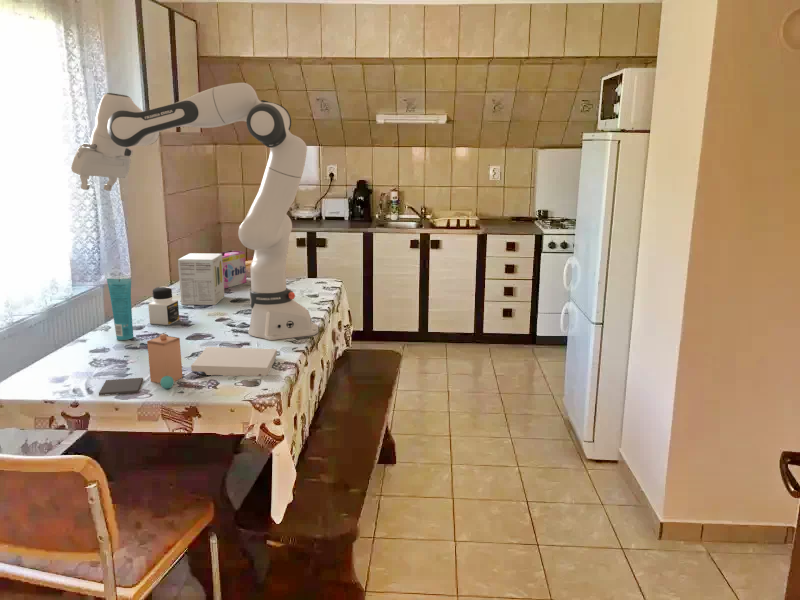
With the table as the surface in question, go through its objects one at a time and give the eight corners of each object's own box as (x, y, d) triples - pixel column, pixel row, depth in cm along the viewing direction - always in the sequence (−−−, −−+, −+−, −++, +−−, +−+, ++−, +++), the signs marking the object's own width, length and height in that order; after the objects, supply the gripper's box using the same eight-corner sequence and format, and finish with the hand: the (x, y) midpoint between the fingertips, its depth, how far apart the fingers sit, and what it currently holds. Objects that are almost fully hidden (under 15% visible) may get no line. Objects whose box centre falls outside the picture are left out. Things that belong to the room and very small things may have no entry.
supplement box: (215, 305, 248) (212, 259, 244) (180, 304, 248) (177, 259, 244) (225, 296, 261) (222, 253, 256) (192, 296, 261) (189, 252, 257)
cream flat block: (276, 360, 191) (207, 358, 191) (276, 349, 190) (206, 347, 190) (267, 379, 176) (191, 377, 176) (267, 367, 176) (191, 365, 175)
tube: (139, 335, 210) (133, 276, 205) (134, 340, 205) (129, 280, 201) (114, 336, 209) (108, 277, 204) (109, 341, 204) (103, 280, 200)
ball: (174, 385, 169) (173, 373, 168) (173, 390, 166) (172, 378, 165) (161, 386, 168) (160, 374, 168) (160, 390, 165) (159, 378, 165)
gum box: (208, 293, 266) (205, 260, 262) (193, 291, 269) (191, 258, 266) (247, 282, 286) (245, 251, 283) (233, 280, 290) (231, 250, 287)
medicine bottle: (168, 325, 221) (165, 290, 219) (149, 324, 223) (146, 289, 220) (179, 319, 228) (177, 286, 225) (161, 318, 230) (158, 284, 227)
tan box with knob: (166, 374, 177) (162, 330, 174) (182, 377, 175) (179, 333, 172) (150, 381, 172) (146, 336, 169) (167, 384, 170) (163, 339, 167)
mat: (143, 379, 173) (143, 377, 173) (137, 392, 164) (137, 390, 164) (106, 382, 171) (106, 380, 171) (98, 395, 162) (98, 393, 162)
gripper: (88, 146, 189) (78, 192, 192) (137, 152, 209) (127, 194, 212) (71, 139, 191) (61, 185, 194) (121, 145, 210) (111, 187, 213)
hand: (96, 189), depth 203 cm, fingers open, 8 cm apart
